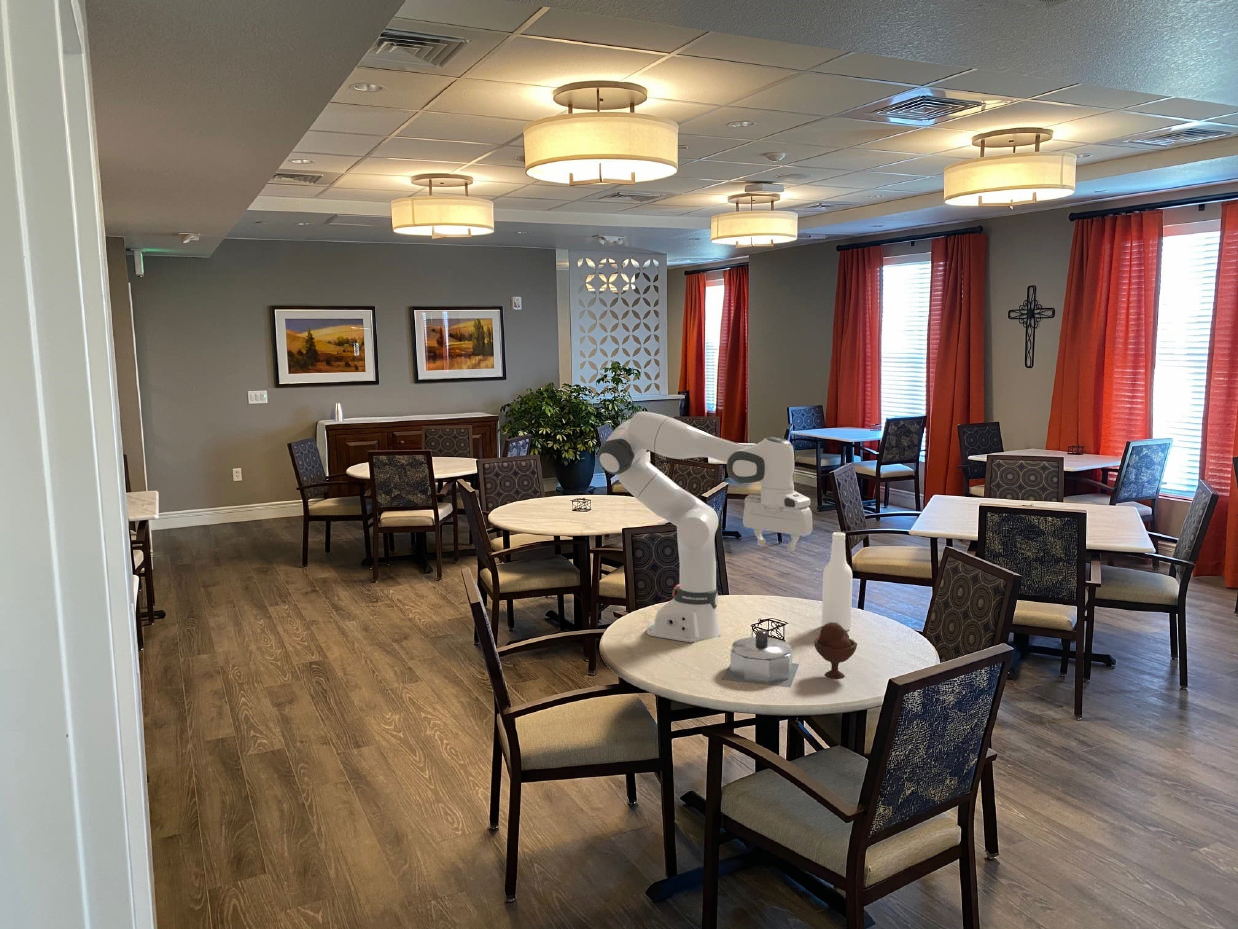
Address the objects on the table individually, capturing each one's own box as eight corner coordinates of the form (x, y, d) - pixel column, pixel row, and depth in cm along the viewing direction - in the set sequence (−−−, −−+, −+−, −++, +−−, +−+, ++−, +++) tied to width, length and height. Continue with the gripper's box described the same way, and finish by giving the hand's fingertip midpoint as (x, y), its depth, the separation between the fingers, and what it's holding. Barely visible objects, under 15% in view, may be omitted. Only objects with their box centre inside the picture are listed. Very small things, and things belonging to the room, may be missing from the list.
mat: (721, 681, 237) (721, 679, 237) (734, 658, 254) (734, 657, 254) (790, 688, 232) (790, 687, 232) (799, 665, 249) (799, 663, 249)
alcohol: (820, 623, 286) (822, 530, 283) (848, 624, 286) (851, 530, 282) (823, 632, 278) (825, 536, 274) (852, 632, 277) (855, 536, 273)
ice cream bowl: (857, 685, 234) (859, 629, 232) (813, 682, 236) (814, 626, 234) (855, 671, 244) (856, 617, 242) (812, 668, 246) (814, 615, 245)
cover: (726, 678, 238) (727, 638, 237) (737, 659, 253) (738, 620, 251) (786, 685, 233) (787, 643, 232) (794, 665, 248) (795, 626, 247)
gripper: (738, 494, 250) (737, 544, 251) (803, 503, 236) (802, 555, 238) (751, 492, 254) (750, 540, 256) (816, 500, 241) (814, 551, 242)
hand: (776, 547), depth 247 cm, fingers open, 8 cm apart
